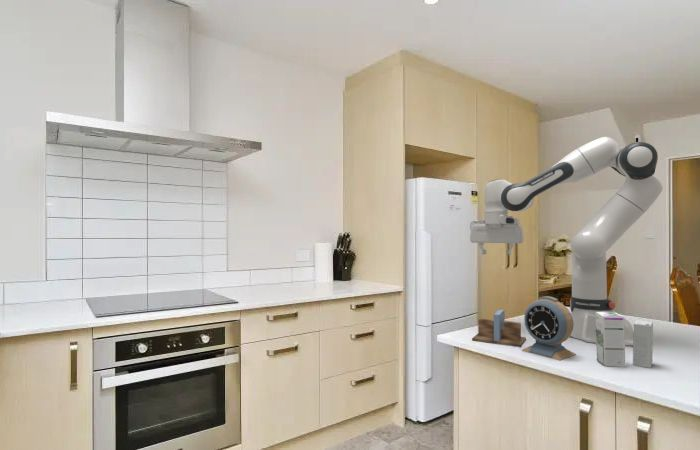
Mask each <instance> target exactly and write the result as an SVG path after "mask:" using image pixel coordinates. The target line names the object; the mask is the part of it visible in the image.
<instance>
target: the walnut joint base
mask: <svg viewBox="0 0 700 450" xmlns="http://www.w3.org/2000/svg"><path fill="white" fill-rule="evenodd" d="M477 320H478V321H477V322H478V323H477V327H478V328H477V329H478V330H477V331H478V333H477V334H475V335H474V336H473V337H472V338H471V341H474V342H479V343H486V344H495V345H502V346H509V347H518V348H521V347H522V346H523V345H524V344H525V343H526V341H527V337H524V336H522V323H521V322H519V321H518V322H516V321H509V320H505V321H504V329H502V330H501V340H500V341H494V319H489V318H481V317H478V319H477Z"/></svg>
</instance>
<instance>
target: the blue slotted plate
mask: <svg viewBox="0 0 700 450" xmlns="http://www.w3.org/2000/svg"><path fill="white" fill-rule="evenodd" d="M505 312H506V311H505V309H498V310H497V311H496V312H495V313H493V320H494V341H500V340H501V330H502V329H504V321H506V320H505V319H506V318H505Z"/></svg>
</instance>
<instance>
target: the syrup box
mask: <svg viewBox="0 0 700 450" xmlns="http://www.w3.org/2000/svg"><path fill="white" fill-rule="evenodd" d="M615 312H616V311H615ZM615 312H596V343H595V344H596V360H597V361H598V363H600V364H602V365H603V366H605V367H612V368H613V367H615V368H626V365H627V364H626V345H625V331H624V318H625V315H622V314H619V313H618V312H617V313H615Z"/></svg>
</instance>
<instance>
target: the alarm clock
mask: <svg viewBox="0 0 700 450" xmlns="http://www.w3.org/2000/svg"><path fill="white" fill-rule="evenodd" d="M523 320H524V325H525V328H526V330H527V332H528V333H529V335H530V336H531V337H532V338H533V339H534V340H535V342H534V343H533V344H532V345H529V346H527V347H526V348H524V349H521V351H522V352H524V353H529V354H533V355H536V356H539V357H540V356H541V357H545V358H548V359H553V360H556V361H562V360H566V359H568V358H571V357H573V356H576V355H577V354H576V353H575V352H573V351H571V350H569V349H567V348H566V347H564V345H562V343H564V342H566V341H567V340H568V339H569V338H570V337H571V336H570V335H571V333H572V330H573V325H574V324H573V318H572V315H571V310H569V309H568V307H567V306H565V305H564V304H563V303H562V302H560V301H559V299H558V298H556V297H553V296H550V295H549V296H548V295H546V296H545V295H544V296H540V297H538V299H536V300H534V301H533V302H531V303H530V304H529V305H528V306H527V308H526V310H525V313H524V319H523Z"/></svg>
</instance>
